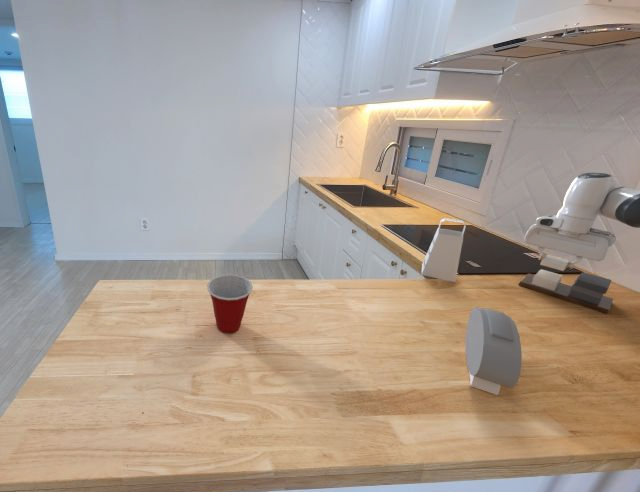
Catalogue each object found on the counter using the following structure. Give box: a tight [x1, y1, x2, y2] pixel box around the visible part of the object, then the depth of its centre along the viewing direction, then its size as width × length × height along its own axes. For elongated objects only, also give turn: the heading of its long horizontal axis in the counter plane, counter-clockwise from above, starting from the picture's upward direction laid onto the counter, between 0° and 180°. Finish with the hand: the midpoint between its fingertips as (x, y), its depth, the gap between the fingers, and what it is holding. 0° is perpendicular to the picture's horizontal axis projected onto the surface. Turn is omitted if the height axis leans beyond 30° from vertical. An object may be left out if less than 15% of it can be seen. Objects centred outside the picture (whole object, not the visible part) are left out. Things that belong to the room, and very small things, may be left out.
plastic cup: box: [206, 274, 254, 334], centre depth 81 cm, size 11×11×12 cm
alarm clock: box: [464, 306, 523, 396], centre depth 73 cm, size 23×6×13 cm, turn 151°
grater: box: [421, 217, 467, 283], centre depth 118 cm, size 10×10×20 cm
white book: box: [539, 254, 572, 272], centre depth 112 cm, size 6×10×2 cm, turn 130°
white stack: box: [532, 268, 564, 291], centre depth 115 cm, size 6×10×3 cm, turn 130°
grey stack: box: [568, 271, 612, 305], centre depth 107 cm, size 7×10×6 cm
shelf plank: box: [518, 273, 614, 314], centre depth 112 cm, size 22×12×2 cm, turn 40°
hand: (554, 263), depth 113 cm, fingers closed on white book, 6 cm apart
